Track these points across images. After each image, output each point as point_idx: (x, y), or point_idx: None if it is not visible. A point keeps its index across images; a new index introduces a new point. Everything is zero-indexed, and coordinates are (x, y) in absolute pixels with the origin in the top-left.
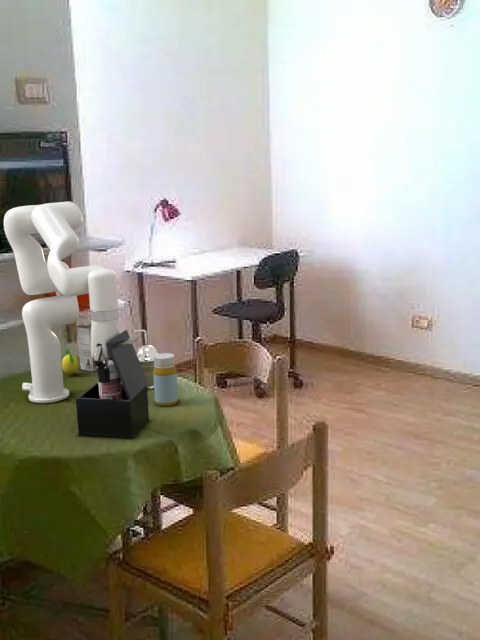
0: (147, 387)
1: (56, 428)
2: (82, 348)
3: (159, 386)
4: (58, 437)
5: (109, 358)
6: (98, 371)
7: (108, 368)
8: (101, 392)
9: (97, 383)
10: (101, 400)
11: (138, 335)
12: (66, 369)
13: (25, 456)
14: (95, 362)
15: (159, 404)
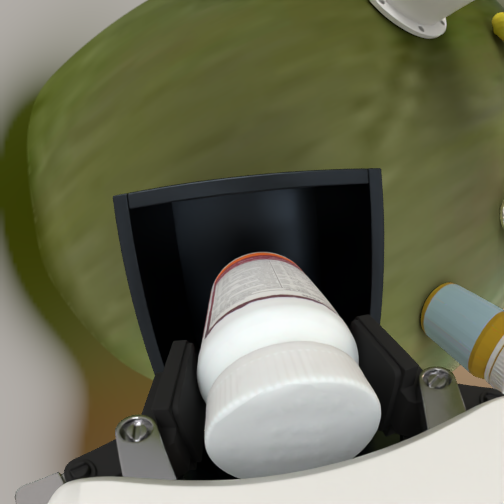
0: (502, 217)
1: (202, 89)
2: None
3: (452, 332)
4: (137, 138)
5: (418, 395)
6: (159, 395)
7: (191, 467)
8: (210, 304)
9: (373, 183)
10: (142, 333)
11: None
12: (496, 22)
13: (28, 147)
14: (41, 481)
15: (424, 306)
